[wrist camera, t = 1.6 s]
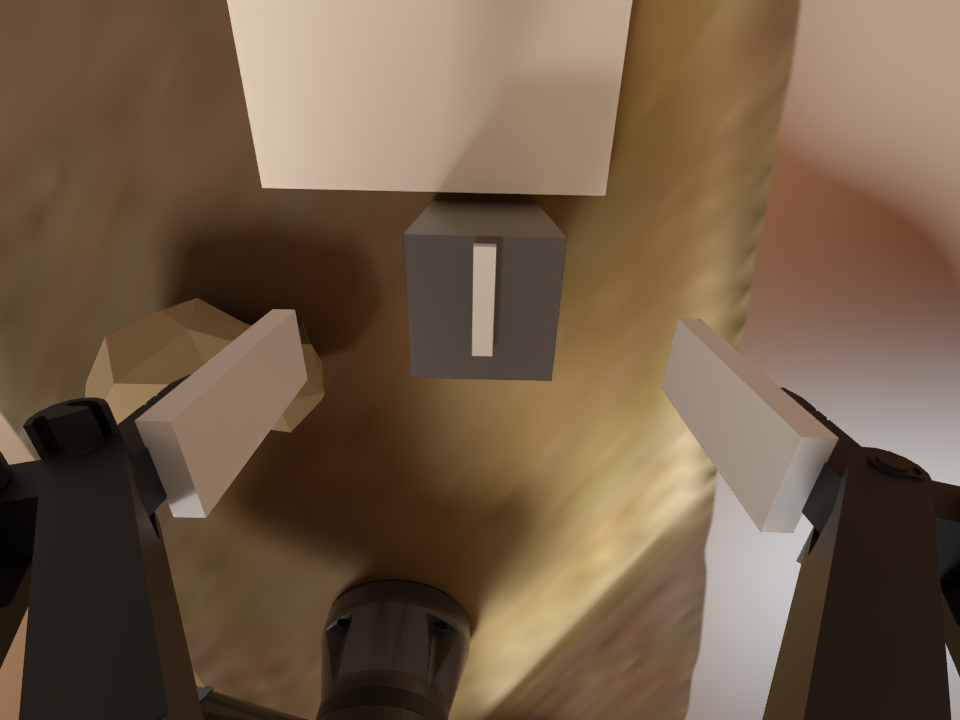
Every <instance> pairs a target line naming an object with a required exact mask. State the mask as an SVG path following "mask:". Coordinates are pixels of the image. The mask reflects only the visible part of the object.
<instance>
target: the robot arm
mask: <svg viewBox="0 0 960 720" xmlns="http://www.w3.org/2000/svg"><path fill="white" fill-rule="evenodd" d="M307 380H308V379H307V373H306V368H305V362H304V357H303V351H302V346H301V340H300V335H299V329H298V324H297V318H296V313H295V310H290V309H272V310H271V311H270V312H268V313H267V314H266V315H265V316H264V317H262V318H261V319H260V320H259V321H257V322H256V323H255V324H254V325H252V326H251V327H250V328H249V329H247V330H246V331H245V332H244V333H242V334H241V335H240V336H239V337H238V338H236V339H235V340H234V341H233V342H231V343H230V344H229V345H228V346H226V347H225V348H224V349H223V350H221V351H220V352H219V353H218V354H217V355H215V356H214V357H213V358H212V359H210V360H209V361H208V362H207V363H205V364H204V365H203V366H202V367H200V368H199V369H198V370H197V371H196V372H194V373H193V374H189V375H187V376H185V377H183V378H181V379H179V380H176V381H174V382H172V383H170V384H169V385H168V386H166V387H165V388H164V389H163V390H161V391H160V392H159V393H157V396H154V397H152V398H151V399H150V400H148V401H147V402H146V405H142V406H141V407H139V408H138V409H137V410H136V411H134V412H133V413H132V414H131V415H129V416H128V417H127V418H125V419H124V420H123V421H122V422H120V423H119V424H118V425H117V423H116V420H115V418H114V416H113V413H112V411H111V409H110V406H109V404H108V403H107V401H106V400H105V399H101V398H97V397H91V398H79V399H74V400H68V401H65V402H62V403H59V404H55V405H52V406H50V407H48V408H46V409H43V410H41V411H39V412H37V413H36V414H34V415H33V416H32V417H30V418H29V419H27V421H26V422H25V424H24V426H23V427H24V429H25V431H26V432H27V434H28V436H29V438H30V440H31V442H32V443H33V445H34V447H35V449H36V451H37V452H38V454H39V456H40V458H41V460H37V461H31V462H24V463H19V464H13V465H8V463H7V461H6V460H5V458H4V456H3V454H2V453H1V452H0V668H1V666H2V664H3V662H4V659H5V657H6V655H7V653H8V650H9V648H10V646H11V644H12V642H13V639H14V637H15V635H16V633H17V630H18V628H19V626H20V624H21V621H22V619H23V617H24V615H25V612H26V610H27V608H28V606H29V609H28V621H27V633H26V644H25V655H24V667H23V679H22V690H21V701H20V713H19V720H307V719H304V718H301V717H297V716H294V715H290V714H287V713H283V712H280V711H276V710H273V709H269V708H266V707H262V706H259V705H256V704H253V703H250V702H246V701H243V700H240V699H237V698H234V697H230V696H227V695H224V694H221V693H218V692H215V691H213V689H214V687H211V686H206V687H204V688H202V687H198V686H196V683H195V678H194V674H193V669H192V665H191V660H190V656H189V651H188V647H187V643H186V638H185V634H184V629H183V625H182V620H181V616H180V611H179V607H178V603H177V598H176V594H175V589H174V585H173V580H172V576H171V571H170V567H169V563H168V558H167V554H166V549H165V545H164V540H163V536H162V531H161V527H160V523H159V520H158V518H157V515H156V513H155V510H156V509H157V508H158V507H159V506H160V505H161V503H162V502H163V501H164V500H165V499H167V502H168V504H169V507H170V509H171V511H172V514H173V516H174V517H193V518H206V517H207V516H208V514H209V513H210V512H211V510H212V509H213V508H214V506H215V505H216V504H217V502H218V501H219V499H220V498H221V497H222V495H223V494H224V493H225V491H226V490H227V489H228V487H229V486H230V484H231V483H232V482H233V480H234V479H235V478H236V476H237V475H238V474H239V472H240V471H241V470H242V468H243V467H244V465H245V464H246V463H247V461H248V460H249V459H250V457H251V456H252V455H253V453H254V452H255V450H256V449H257V448H258V446H259V445H260V444H261V442H262V441H263V440H264V438H265V437H266V436H267V434H268V433H269V431H270V430H271V429H272V427H273V426H274V425H275V423H276V422H277V421H278V419H279V418H280V416H281V415H282V414H283V412H284V411H285V410H286V408H287V407H288V406H289V404H290V403H291V402H292V400H293V399H294V397H295V396H296V395H297V393H298V392H299V391H300V389H301V388H302V387H303V385H304V384H305V382H306V381H307ZM661 389H662V390H663V391H664V393H665V394H666V396H667V397H668V399H669V400H670V402H671V403H672V404H673V406H674V407H675V409H676V410H677V412H678V413H679V415H680V416H681V418H682V419H683V420H684V422H685V423H686V425H687V426H688V428H689V429H690V431H691V432H692V433H693V435H694V436H695V438H696V439H697V441H698V442H699V444H700V445H701V446H702V448H703V449H704V451H705V452H706V454H707V455H708V457H709V458H710V459H711V461H712V462H713V464H714V465H715V467H716V468H717V470H718V471H719V472H720V474H721V475H722V477H723V478H724V480H725V481H726V483H727V484H728V485H729V487H730V488H731V490H732V491H733V493H734V494H735V496H736V497H737V498H738V500H739V501H740V503H741V504H742V506H743V507H744V509H745V510H746V512H747V513H748V515H749V516H750V517H751V519H752V520H753V522H754V523H755V525H756V526H757V528H758V529H759V530H760V532H781V533H782V532H783V533H793V532H794V530H795V528H796V526H797V524H798V522H799V519H800V517H801V515H802V513H803V514H804V515H805V516H806V517H807V519H808V520H809V521H810V522H811V524H812V525H813V526H814V527H813V529H812V531H811V533H810V535H809V537H808V539H807V541H806V543H805V545H804V547H803V549H802V551H801V553H800V555H799V557H798V559H797V562H799V563H801V568H800V572H799V576H798V580H797V584H796V588H795V592H794V596H793V600H792V604H791V608H790V612H789V616H788V620H787V624H786V628H785V632H784V636H783V640H782V644H781V647H780V651H779V655H778V659H777V663H776V667H775V671H774V676H773V680H772V684H771V687H770V692H769V695H768V700H767V704H766V707H765V712H764V715H763V719H762V720H951V711H950V698H949V685H948V672H947V661H946V648H945V643H946V645H947V648H948V650H949V652H950V655H951V657H952V659H953V662H954V664H955V667H956V669H957V671H958V674H959V676H960V486H955V485H951V484H946V483H941V482H937V481H932V480H931V478H930V476H929V474H928V473H927V472H926V471H925V470H924V469H922V468H921V467H920V466H919V465H917V464H915V463H914V462H912V461H910V460H908V459H907V458H905V457H902V456H899V455H897V454H895V453H892V452H889V451H885V450H882V449H877V448H870V447H861V446H860V445H859V444H858V443H856V442H855V441H854V440H853V439H852V438H850V437H849V436H848V435H847V434H846V433H844V432H843V431H842V430H841V429H839V428H838V427H837V426H836V425H835V424H833V423H832V422H831V421H830V420H827V418H826V417H825V416H824V415H823V414H822V413H820V412H819V411H816V409H815V408H814V407H813V406H812V405H811V404H809V403H808V402H807V401H806V400H805V399H803V398H802V397H800V396H798V395H796V394H794V393H793V392H791V391H789V390H787V389H785V388H780V387H779V386H777V385H776V384H775V383H774V382H773V381H772V380H770V379H769V378H768V377H767V376H766V375H765V374H763V373H762V372H761V371H760V370H759V369H758V368H756V367H755V366H754V365H753V364H752V363H751V362H749V361H748V360H747V359H746V358H745V357H744V356H742V355H741V354H740V353H739V352H738V351H737V350H736V349H734V348H733V347H732V346H731V345H730V344H729V343H727V342H726V341H725V340H724V339H723V338H722V337H720V336H719V335H718V334H717V333H716V332H715V331H713V330H712V329H711V328H710V327H709V326H708V325H706V324H705V323H704V322H703V321H702V320H701V319H678V321H677V325H676V329H675V333H674V337H673V342H672V346H671V350H670V354H669V358H668V362H667V366H666V371H665V375H664V379H663V383H662V387H661ZM469 649H470V623H469V620H468V617H467V615H466V613H465V612H464V610H463V609H462V608H461V607H460V605H459V604H458V603H456V602H455V601H454V600H453V599H452V598H450V597H449V596H447V595H446V594H444V593H442V592H440V591H438V590H436V589H433V588H431V587H428V586H425V585H421V584H417V583H412V582H405V581H380V582H373V583H368V584H365V585H361V586H359V587H356V588H354V589H352V590H350V591H348V592H346V593H345V594H343V595H342V596H341V597H340V598H338V599H337V601H336V602H335V603H334V604H333V606H332V608H331V610H330V612H329V615H328V618H327V621H326V624H325V628H324V631H323V636H322V674H321V703H320V707H319V711H318V714H317V718H316V720H448V716H449V712H450V709H451V706H452V703H453V700H454V697H455V694H456V691H457V689H458V686H459V683H460V680H461V677H462V674H463V671H464V668H465V665H466V662H467V659H468V655H469Z"/></svg>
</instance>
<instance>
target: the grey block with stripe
mask: <svg viewBox="0 0 960 720" xmlns="http://www.w3.org/2000/svg"><path fill="white" fill-rule="evenodd" d="M403 239H404V257H405V274H406V292H407V310H408V328H409V346H410V364H411V378H450V379H494V380H538V381H552V372H553V363H554V353H555V344H556V335H557V325H558V316H559V307H560V297H561V288H562V279H563V269H564V260H565V251H566V241H567V238H566V236H565V235H564V234H563V233H562V232H561V230H560V229H559V228H558V227H557V226H556V224H555V223H554V222H553V221H552V220H551V219H550V217H549V216H548V215H547V214H546V213H545V211H544V210H543V209H542V208H541V207H540V206H539V204H538V203H529V202H486V201H443V200H432V202H431V203H430V204H429V205H428V206H427V207H426V208H425V210H424V211H423V212H422V213H421V214H420V215H419V217H418V218H417V219H416V220H415V221H414V222H413V223H412V225H411V226H410V227H409V228H408V229H407V230H406V232H405V233H404V234H403Z"/></svg>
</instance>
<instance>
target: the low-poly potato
mask: <svg viewBox="0 0 960 720" xmlns="http://www.w3.org/2000/svg"><path fill="white" fill-rule="evenodd" d="M251 326H252V325H248V324H245V323H243V322H241V321H239V320H238V319H236V318H234V317H232V316H230V315H228V314H226V313H225V312H223V311H221V310H219V309H217V308H215V307H213V306H212V305H210V304H208V303H206V302H204V301H202V300H200V299H199V298H195V299H192V300H189V301H187V302H184V303H181V304H178V305H175V306H172V307H170V308H167V309H164V310H161V311H159V312H157V313H155V314H153V315H150V316H148V317H146V318H144V319H142V320H140V321H138V322H135V323H133V324H131V325H129V326H127V327H125V328H123V329H120V330H118V331H116V332H114V333H112V334H110V335H108V336H105V338H104V341H103V343H102V346H101V348H100V350H99V353H98V355H97V358H96V360H95V363H94V365H93V367H92V370H91V372H90V375H89V377H88V380H87V382H86V394H85V398H91V397H97V398H101V399H105V400H106V401H107V403H108V404H109V406H110V409H111V411H112V413H113V416H114V418H115V420H116V423H117V425H118V424H119V423H120V422H122V421H123V420H124V419H125V418H127V417H128V416H129V415H131V414H132V413H133V412H134V411H136V410H137V409H138V408H139V407H141V406H142V405H146V402H147V401H148V400H150V399H151V398H152V397H154V396H157V393H159V392H160V391H161V390H163V389H164V388H165V387H166V386H168V385H169V384H170V383H172V382H174V381H176V380H179V379H181V378H183V377H185V376H187V375H189V374H193V373H194V372H196V371H197V370H198V369H199V368H200V367H202V366H203V365H204V364H205V363H207V362H208V361H209V360H210V359H212V358H213V357H214V356H215V355H217V354H218V353H219V352H220V351H221V350H223V349H224V348H225V347H226V346H228V345H229V344H230V343H231V342H233V341H234V340H235V339H236V338H238V337H239V336H240V335H241V334H242V333H244V332H245V331H246V330H247V329H249V328H250V327H251ZM298 329H299V335H300V340H301V346H302V351H303V357H304V362H305V368H306V373H307V379H308V380H307V381H306V382H305V384H304V385H303V387H302V388H301V389H300V391H299V392H298V393H297V395H296V396H295V397H294V399H293V400H292V402H291V403H290V404H289V406H288V407H287V408H286V410H285V411H284V412H283V414H282V415H281V416H280V418H279V419H278V421H277V422H276V423H275V425H274V426H273V427H272V429H271V430H276V431H284V432H291V431H292V430H293V429H294V428H295V427H296V426H297V425H298V424H299V423H300V422H301V421H302V420H303V419H304V418H305V417H306V416H307V415H308V414H309V413H310V412H311V411H312V410H313V408H314V407H315V406H316V405H317V404H318V403H319V402H320V401H321V400H322V398H323V396H324V394H325V392H324V379H323V365H322V361H321V359H320V358H319V356H318V354H317V353H316V351H315V350H314V348H313V346H312V345H311V342H310V339H309V336H308V333H307V330H306V326H305V323H304V322H303V323H302V324H301V325H300V326H299V327H298Z"/></svg>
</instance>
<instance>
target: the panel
mask: <svg viewBox="0 0 960 720" xmlns="http://www.w3.org/2000/svg"><path fill="white" fill-rule="evenodd" d="M227 3H228V8H229V14H230V19H231V24H232V30H233V35H234V40H235V46H236V51H237V56H238V62H239V67H240V72H241V78H242V83H243V88H244V94H245V99H246V104H247V110H248V115H249V120H250V126H251V131H252V136H253V142H254V147H255V152H256V157H257V163H258V168H259V173H260V179H261V184H262V188H287V189H330V190H373V191H416V192H460V193H503V194H546V195H589V196H605V193H606V186H607V179H608V172H609V165H610V157H611V150H612V143H613V136H614V129H615V122H616V114H617V107H618V100H619V93H620V86H621V79H622V71H623V64H624V57H625V50H626V43H627V36H628V29H629V21H630V14H631V7H632V0H227Z"/></svg>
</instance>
